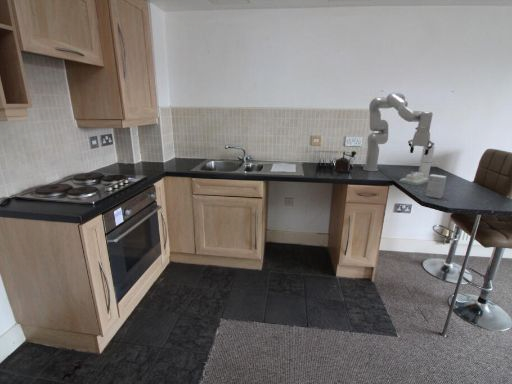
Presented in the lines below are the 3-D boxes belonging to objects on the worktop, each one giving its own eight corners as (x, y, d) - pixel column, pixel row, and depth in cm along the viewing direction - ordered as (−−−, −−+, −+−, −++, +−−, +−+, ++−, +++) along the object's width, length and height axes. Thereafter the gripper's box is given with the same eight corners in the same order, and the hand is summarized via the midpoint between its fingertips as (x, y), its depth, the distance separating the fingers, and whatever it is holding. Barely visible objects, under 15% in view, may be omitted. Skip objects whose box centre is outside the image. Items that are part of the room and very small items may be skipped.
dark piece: (334, 171, 237) (336, 149, 232) (337, 169, 247) (339, 148, 241) (353, 173, 230) (356, 151, 225) (355, 171, 240) (358, 150, 235)
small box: (442, 196, 173) (447, 176, 169) (440, 198, 169) (444, 177, 165) (427, 193, 178) (431, 173, 175) (425, 195, 174) (429, 175, 170)
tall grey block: (422, 179, 217) (429, 146, 210) (415, 176, 224) (421, 145, 217) (430, 178, 219) (436, 146, 212) (422, 176, 226) (429, 145, 219)
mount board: (399, 182, 206) (401, 171, 204) (411, 177, 220) (413, 167, 218) (416, 185, 198) (419, 174, 195) (428, 181, 211) (430, 170, 209)
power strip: (405, 180, 204) (406, 175, 203) (416, 176, 217) (417, 171, 216) (412, 181, 200) (413, 176, 199) (423, 177, 213) (424, 173, 212)
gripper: (408, 129, 203) (404, 152, 208) (434, 131, 190) (429, 156, 195) (412, 128, 207) (408, 151, 212) (438, 130, 195) (433, 155, 200)
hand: (418, 153), depth 204 cm, fingers open, 9 cm apart
